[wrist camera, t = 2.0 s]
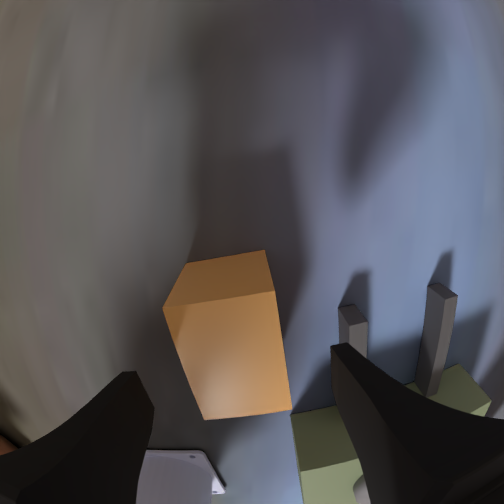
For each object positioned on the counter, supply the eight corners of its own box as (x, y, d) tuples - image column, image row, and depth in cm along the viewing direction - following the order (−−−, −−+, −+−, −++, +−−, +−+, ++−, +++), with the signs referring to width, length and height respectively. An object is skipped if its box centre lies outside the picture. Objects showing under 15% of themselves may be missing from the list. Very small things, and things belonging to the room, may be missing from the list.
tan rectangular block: (212, 357, 17) (204, 419, 12) (186, 262, 15) (162, 308, 10) (280, 347, 17) (292, 409, 12) (264, 249, 15) (274, 290, 10)
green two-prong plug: (298, 472, 21) (307, 525, 15) (276, 319, 16) (291, 396, 10) (436, 430, 21) (460, 471, 15) (476, 271, 16) (536, 308, 10)
